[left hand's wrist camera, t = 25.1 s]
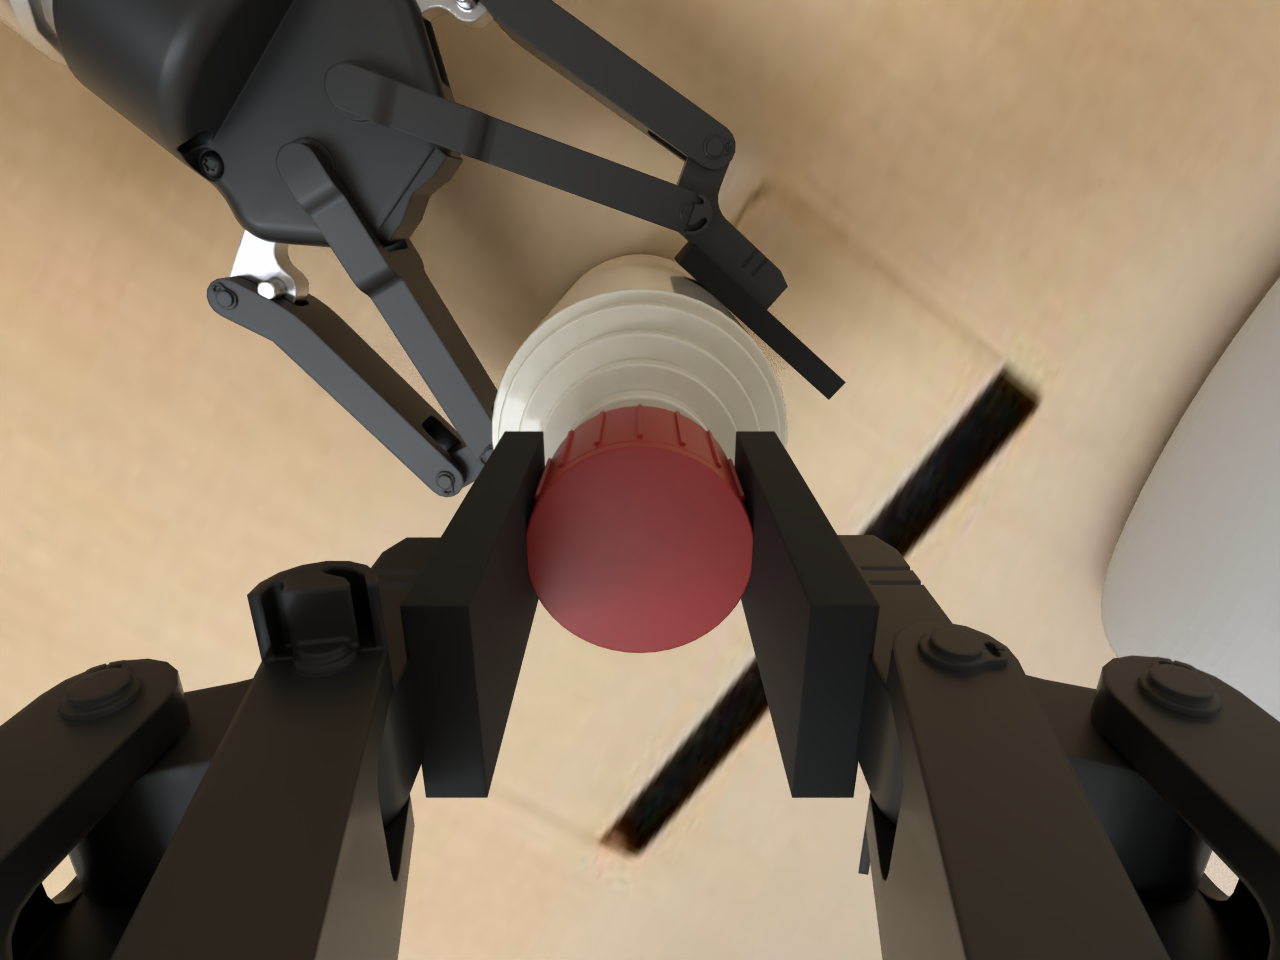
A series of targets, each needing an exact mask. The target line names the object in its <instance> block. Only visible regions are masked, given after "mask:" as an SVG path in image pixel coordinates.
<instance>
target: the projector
mask: <svg viewBox="0 0 1280 960" xmlns="http://www.w3.org/2000/svg"><path fill="white" fill-rule="evenodd" d="M1101 617H1102V623H1103V628H1104V631H1105V634H1106V637H1107V640H1108V642H1109V644H1110V646H1111V648H1112V649H1113V651H1114V653H1115V654H1116V656H1117V657H1118V658H1120V657H1126V656H1131V655H1134V656H1147V657H1162V658H1167V659H1171V661H1174V660H1176V661H1180V662H1183V663H1187V664H1189V665H1192V666H1193V667H1195V668H1196V669H1198V670H1201V671H1203V672H1206V673H1208V674H1211V675H1213V676H1215V677H1217V678H1219V679H1220V680H1222V681H1223V682H1225V683H1227V684H1228V685H1230V686H1232V687H1233V688H1235V689H1237V690H1238V691H1240V692H1241V693H1242V694H1244V695H1245V696H1246V697H1248V698H1249V699H1250V700H1252V701H1253V702H1254V703H1256V704H1257V705H1258V706H1260V707H1261V708H1262V709H1264V710H1265V711H1266V712H1267V713H1269V714H1270V715H1271V716H1273V717H1274V718H1275V719H1277V720H1278V721H1279V722H1280V277H1279V278H1278V280H1277V281H1276V282H1275V283H1274V285H1273V286H1272V287H1271V289H1270V290H1269V291H1268V292H1267V294H1266V295H1265V296H1264V298H1263V299H1262V300H1261V302H1260V303H1259V305H1258V306H1257V307H1256V309H1255V310H1254V311H1253V313H1252V314H1251V315H1250V317H1249V318H1248V319H1247V321H1246V322H1245V323H1244V325H1243V326H1242V327H1241V329H1240V330H1239V331H1238V333H1237V334H1236V336H1235V337H1234V339H1233V340H1232V341H1231V343H1230V344H1229V346H1228V347H1227V349H1226V350H1225V352H1224V353H1223V355H1222V356H1221V358H1220V359H1219V360H1218V362H1217V363H1216V365H1215V366H1214V368H1213V369H1212V371H1211V372H1210V374H1209V375H1208V377H1207V378H1206V380H1205V381H1204V383H1203V385H1202V386H1201V388H1200V389H1199V391H1198V393H1197V394H1196V396H1195V397H1194V399H1193V401H1192V402H1191V404H1190V405H1189V407H1188V409H1187V410H1186V412H1185V413H1184V415H1183V417H1182V418H1181V420H1180V422H1179V423H1178V425H1177V427H1176V429H1175V430H1174V432H1173V434H1172V436H1171V437H1170V439H1169V441H1168V442H1167V444H1166V446H1165V448H1164V449H1163V451H1162V453H1161V455H1160V456H1159V458H1158V460H1157V462H1156V464H1155V466H1154V468H1153V470H1152V471H1151V473H1150V475H1149V477H1148V479H1147V481H1146V483H1145V485H1144V486H1143V488H1142V490H1141V492H1140V494H1139V496H1138V499H1137V501H1136V503H1135V505H1134V507H1133V509H1132V511H1131V513H1130V515H1129V517H1128V519H1127V521H1126V523H1125V526H1124V528H1123V530H1122V533H1121V535H1120V537H1119V540H1118V542H1117V544H1116V547H1115V549H1114V552H1113V555H1112V558H1111V561H1110V564H1109V566H1108V569H1107V573H1106V577H1105V582H1104V586H1103V591H1102V600H1101Z"/></svg>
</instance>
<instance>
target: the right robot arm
mask: <svg viewBox="0 0 1280 960" xmlns="http://www.w3.org/2000/svg"><path fill="white" fill-rule="evenodd" d="M442 15H449V16H452V17H454V18H456V19H457V20H459V21H460V22H461V23H462V24H463V25H465V26H466V27H468V28H471V29H481V28H484V27H485V26H487V25H488V24H489V23H490V22H491V21H492V20H493V19H494V20H495V21H496V23H497V24H498V25H499V26H500V27H501V28H502V29H503V30H504V31H505V32H506V33H507V34H508V35H509V36H510V37H511V38H512V39H513V40H514V41H515V42H517V43H518V44H519V45H520V46H522V47H523V48H524V49H526V50H527V51H528V52H530V53H531V54H533V55H534V56H536V57H537V58H538V59H540V60H541V61H543V62H544V63H545V64H547V65H548V66H550V67H551V68H553V69H554V70H555V71H557V72H558V73H560V74H561V75H562V76H564V77H565V78H567V79H568V80H569V81H571V82H572V83H574V84H575V85H577V86H578V87H579V88H581V89H582V90H584V91H585V92H586V93H588V94H589V95H591V96H592V97H594V98H595V99H596V100H598V101H599V102H601V103H602V104H603V105H605V106H606V107H608V108H609V109H611V110H612V111H613V112H615V113H616V114H618V115H619V116H620V117H622V118H623V119H625V120H626V121H628V122H629V123H630V124H632V125H633V126H635V127H636V128H637V129H639V130H640V131H642V132H643V133H645V134H646V135H647V136H649V137H650V138H652V139H653V140H654V141H656V142H657V143H659V144H660V145H662V146H663V147H664V148H666V149H667V150H669V151H670V152H671V153H673V154H674V155H676V156H677V157H678V158H680V159H681V160H683V161H684V162H685V163H684V166H683V169H682V171H681V174H680V177H679V180H678V183H677V185H675V184H672V183H669V182H667V181H664V180H661V179H659V178H656V177H653V176H650V175H648V174H645V173H642V172H640V171H637V170H634V169H631V168H629V167H626V166H623V165H621V164H618V163H615V162H612V161H610V160H607V159H604V158H602V157H599V156H596V155H594V154H591V153H588V152H585V151H583V150H580V149H577V148H575V147H572V146H569V145H566V144H564V143H561V142H558V141H556V140H553V139H550V138H547V137H545V136H542V135H539V134H537V133H534V132H531V131H528V130H526V129H523V128H520V127H518V126H515V125H512V124H510V123H507V122H504V121H501V120H499V119H496V118H494V117H491V116H489V115H486V114H484V113H482V112H479V111H476V110H474V109H471V108H469V107H466V106H463V105H460V104H458V103H455V101H454V98H453V95H452V91H451V88H450V84H449V81H448V78H447V74H446V71H445V68H444V64H443V61H442V58H441V54H440V51H439V48H438V44H437V41H436V38H435V34H434V31H433V28H432V24H431V21H432V20H433V19H435V18H436V17H438V16H442ZM0 20H1V21H2V22H3V23H5V24H6V25H7V26H8V27H10V28H11V29H12V30H13V31H15V32H16V33H17V34H18V35H20V36H21V37H22V38H23V39H25V40H26V41H27V42H29V43H30V44H31V45H32V46H34V47H35V48H36V49H37V50H39V51H40V52H41V53H43V54H44V55H45V56H47V57H48V58H49V59H51V60H52V61H54V62H56V63H59V64H61V65H64V66H66V67H69V68H70V70H71V71H72V73H73V74H74V76H75V77H76V78H77V79H78V80H79V81H80V82H81V83H82V84H83V85H84V86H85V87H87V88H88V89H89V90H90V91H92V92H93V93H94V94H96V95H97V96H98V97H99V98H101V99H102V100H103V101H105V102H106V103H107V104H108V105H110V106H111V107H112V108H114V109H115V110H116V111H117V112H119V113H120V114H121V115H123V116H124V117H125V118H126V119H128V120H129V121H130V122H131V123H133V124H134V125H135V126H137V127H138V128H139V129H140V130H142V131H143V132H144V133H146V134H147V135H148V136H149V137H151V138H152V139H153V140H155V141H156V142H157V143H158V144H160V145H161V146H162V147H164V148H165V149H166V150H167V151H169V152H170V153H171V154H173V155H174V156H175V157H176V158H178V159H179V160H180V161H182V162H183V163H184V164H186V165H187V166H188V167H190V168H191V169H192V170H194V171H195V172H197V173H198V174H200V175H201V176H202V177H204V178H205V179H207V180H208V181H209V182H210V183H212V184H213V185H214V186H215V187H216V188H217V189H218V191H219V192H220V193H221V194H222V196H223V197H224V198H225V200H226V201H227V203H228V205H229V206H230V208H231V210H232V212H233V214H234V216H235V218H236V219H237V221H238V222H239V223H240V225H241V226H242V227H243V228H244V229H245V230H244V233H243V236H242V239H241V242H240V245H239V248H238V251H237V254H236V258H235V261H234V264H233V267H232V270H231V273H230V275H229V277H226V278H220V279H216V280H215V281H213V282H211V284H210V285H209V287H208V289H207V299H208V302H209V304H210V306H211V307H212V309H213V310H214V311H215V312H217V313H218V314H219V315H221V316H223V317H225V318H227V319H229V320H231V321H233V322H235V323H237V324H239V325H241V326H243V327H245V328H247V329H249V330H251V331H253V332H255V333H257V334H259V335H261V336H263V337H265V338H267V339H269V340H271V341H273V342H274V343H275V344H276V345H277V346H278V347H279V348H281V349H282V350H283V351H284V352H285V353H286V354H287V355H288V356H289V357H290V358H291V359H292V360H293V361H294V362H295V363H297V364H298V365H299V366H300V367H301V368H302V369H303V370H304V371H305V372H306V373H307V374H308V375H309V376H310V377H312V378H313V379H314V380H315V381H316V382H317V383H318V384H319V385H320V386H321V387H322V388H323V389H324V390H325V391H327V392H328V393H329V394H330V395H331V396H332V397H333V398H334V399H335V400H336V401H337V402H338V403H339V404H340V405H341V406H343V407H344V408H345V409H346V410H347V411H348V412H349V413H350V414H351V415H352V416H353V417H354V418H355V419H356V420H358V421H359V422H360V423H361V424H362V425H363V426H364V427H365V428H366V429H367V430H368V431H369V432H370V433H371V434H372V435H374V436H375V437H376V438H377V439H378V440H379V441H380V442H381V443H382V444H383V445H384V446H385V447H386V448H387V449H389V450H390V451H391V452H392V453H393V454H394V455H395V456H396V457H397V458H398V459H399V460H400V461H401V462H402V463H403V464H405V465H406V466H407V467H408V468H409V469H410V470H411V471H412V472H413V473H414V474H415V475H416V476H417V477H418V478H420V479H421V480H422V481H423V482H424V483H425V484H426V485H427V486H428V487H429V488H430V489H431V490H432V491H433V492H435V493H436V494H438V495H440V496H444V497H451V496H454V495H456V494H458V493H459V492H460V490H461V489H462V488H463V487H465V486H467V485H468V484H470V483H472V482H474V481H475V480H476V478H477V477H478V475H479V473H480V472H481V470H482V468H483V467H484V465H485V463H486V462H487V460H488V458H489V457H490V455H491V453H492V452H493V444H492V416H493V409H494V402H495V398H496V395H497V391H498V390H497V389H496V387H495V386H494V384H493V382H492V381H491V379H490V377H489V376H488V374H487V373H486V371H485V369H484V368H483V366H482V364H481V363H480V361H479V360H478V358H477V356H476V355H475V353H474V351H473V350H472V348H471V347H470V345H469V343H468V342H467V340H466V338H465V337H464V335H463V333H462V332H461V330H460V329H459V327H458V325H457V324H456V322H455V320H454V319H453V317H452V316H451V314H450V312H449V311H448V309H447V307H446V306H445V304H444V303H443V301H442V299H441V298H440V296H439V294H438V293H437V291H436V290H435V288H434V286H433V285H432V283H431V281H430V280H429V278H428V277H427V275H426V273H425V270H424V265H423V262H422V259H421V258H420V256H419V254H418V252H417V251H416V249H415V247H414V246H413V244H412V242H411V241H410V239H409V238H410V236H411V235H412V233H413V232H414V230H415V229H416V228H417V226H418V225H419V223H420V222H421V220H422V218H423V215H424V212H425V209H426V206H427V204H428V201H429V198H430V196H431V195H432V194H433V193H434V192H435V191H437V190H438V189H439V188H440V187H442V186H443V185H444V184H445V183H446V182H448V181H449V180H450V179H451V177H452V176H453V174H454V173H455V172H456V170H457V169H458V167H459V166H460V164H461V163H462V162H463V160H462V159H461V158H460V154H464V155H466V156H469V157H472V158H475V159H478V160H481V161H484V162H486V163H489V164H492V165H495V166H497V167H500V168H503V169H506V170H509V171H511V172H514V173H517V174H520V175H522V176H525V177H528V178H531V179H533V180H536V181H539V182H542V183H545V184H547V185H550V186H553V187H556V188H558V189H561V190H564V191H567V192H569V193H572V194H575V195H578V196H581V197H583V198H586V199H589V200H592V201H594V202H597V203H600V204H603V205H605V206H608V207H611V208H614V209H617V210H619V211H622V212H625V213H628V214H630V215H633V216H636V217H639V218H641V219H644V220H647V221H650V222H652V223H655V224H658V225H661V226H664V227H666V228H669V229H672V230H675V231H677V232H679V233H680V234H681V235H682V236H683V237H684V238H685V239H687V240H688V242H687V244H686V245H685V246H684V247H683V248H682V250H681V251H680V252H679V253H678V254H677V256H676V257H675V260H676V261H677V263H678V264H679V265H680V266H681V267H682V268H683V269H684V270H686V271H687V272H688V273H689V274H690V275H691V276H692V277H693V278H694V279H696V280H697V281H698V282H699V283H700V284H701V285H702V286H703V287H704V288H705V289H707V290H708V291H709V292H710V293H711V294H712V295H713V296H715V297H716V298H717V299H718V300H719V301H720V302H721V303H722V304H723V305H724V306H725V307H727V308H728V309H729V310H730V311H731V312H732V313H733V314H734V315H735V316H737V317H738V318H739V319H740V320H741V321H742V322H743V323H744V324H745V325H746V326H748V327H749V328H750V329H751V330H752V331H753V332H754V333H755V334H756V335H758V336H759V337H760V338H761V339H762V340H763V341H764V342H765V343H766V344H768V345H769V346H770V347H771V348H772V349H773V350H774V351H775V352H776V353H778V354H779V355H780V356H781V357H782V358H783V359H784V360H785V361H786V362H787V363H789V364H790V365H791V366H792V367H793V368H794V369H795V370H796V371H797V372H799V373H800V374H801V375H802V376H803V377H804V378H805V379H806V380H807V381H809V382H810V383H811V384H812V385H813V386H814V387H815V388H816V389H817V390H819V391H820V392H821V393H822V394H823V395H824V396H825V397H826V398H827V399H830V398H831V397H832V396H833V395H834V394H835V393H836V392H837V391H838V390H839V389H840V388H841V387H842V386H843V385H844V384H845V383H846V382H845V381H844V380H842V379H841V378H840V377H839V376H838V375H837V374H836V373H835V372H834V371H833V370H832V369H830V368H829V367H828V366H827V365H826V364H825V363H824V362H823V361H822V360H821V359H820V358H818V357H817V356H816V355H815V354H814V353H813V352H812V351H811V350H810V349H809V348H808V347H806V346H805V345H804V344H803V343H802V342H801V341H800V340H799V339H798V338H797V337H796V336H795V335H793V334H792V333H791V332H790V331H789V330H788V329H787V328H786V327H785V326H784V325H783V324H781V323H780V322H779V321H778V320H777V319H776V318H775V317H774V316H773V315H772V314H771V313H769V312H768V311H767V309H768V308H769V307H770V306H771V304H772V303H773V302H774V301H775V300H776V299H777V298H778V297H779V296H780V294H781V293H782V292H783V291H784V290H785V289H786V288H787V287H788V286H787V284H786V282H785V279H784V277H783V275H782V273H781V271H780V270H779V269H778V268H777V267H776V266H775V265H774V264H773V263H772V262H771V261H770V260H769V259H767V258H766V257H765V256H764V255H763V254H762V253H761V252H760V251H759V250H758V249H757V248H756V247H755V246H754V245H753V244H752V243H751V242H750V241H748V240H747V239H746V238H745V237H744V236H743V235H742V234H741V233H740V232H739V231H738V230H737V229H736V228H735V227H734V226H733V225H731V224H730V223H729V222H728V221H727V220H726V219H725V217H724V216H723V215H722V213H721V211H720V209H719V205H718V193H719V189H720V186H721V184H722V181H723V178H724V176H725V173H726V171H727V168H728V165H729V163H730V161H731V160H732V158H733V155H734V153H735V140H734V137H733V134H732V133H731V132H730V131H729V130H728V129H727V128H726V127H725V126H724V125H722V124H721V123H719V122H718V121H717V120H715V119H714V118H713V117H711V116H710V115H708V114H707V113H706V112H704V111H703V110H702V109H700V108H699V107H697V106H696V105H695V104H693V103H692V102H691V101H689V100H688V99H686V98H685V97H684V96H682V95H681V94H680V93H678V92H677V91H675V90H674V89H673V88H671V87H670V86H669V85H667V84H666V83H664V82H663V81H662V80H660V79H659V78H658V77H656V76H655V75H653V74H652V73H651V72H649V71H648V70H647V69H645V68H644V67H642V66H641V65H640V64H638V63H637V62H636V61H634V60H633V59H631V58H630V57H629V56H627V55H626V54H625V53H623V52H622V51H620V50H619V49H618V48H616V47H615V46H614V45H612V44H611V43H609V42H608V41H607V40H605V39H604V38H603V37H601V36H600V35H598V34H597V33H596V32H594V31H593V30H592V29H590V28H589V27H587V26H586V25H585V24H583V23H582V22H581V21H579V20H578V19H576V18H575V17H574V16H572V15H571V14H570V13H568V12H567V11H565V10H564V9H563V8H561V7H560V6H559V5H557V4H556V3H554V2H553V1H552V0H0ZM288 244H295V245H308V246H320V247H331V249H332V250H333V252H334V253H335V255H336V256H337V258H338V259H339V261H340V262H341V264H342V265H343V267H344V268H345V270H346V272H347V273H348V275H349V276H350V278H351V279H352V281H353V282H354V283H355V285H356V286H357V287H358V288H359V289H360V290H361V291H362V292H364V293H365V294H367V295H368V296H369V297H370V298H371V299H372V301H373V302H374V304H375V305H376V307H377V308H378V310H379V311H380V313H381V314H382V316H383V317H384V319H385V321H386V322H387V324H388V325H389V327H390V328H391V330H392V331H393V333H394V334H395V336H396V338H397V339H398V341H399V342H400V344H401V345H402V347H403V348H404V350H405V351H406V353H407V354H408V356H409V358H410V359H411V361H412V362H413V364H414V365H415V367H416V368H417V370H418V371H419V373H420V375H421V376H422V378H423V379H424V381H425V382H426V384H427V385H428V387H429V388H430V390H431V392H432V393H433V395H434V396H435V398H436V399H437V401H438V402H439V404H440V405H441V407H442V408H443V410H444V412H445V413H446V415H447V416H448V418H449V419H450V421H451V422H452V424H453V425H454V427H455V429H456V430H457V431H456V430H455V429H454V428H453V427H452V426H451V425H450V424H449V423H448V422H447V421H446V420H445V419H444V418H443V417H442V416H441V415H440V414H439V413H438V412H437V411H436V410H435V409H433V408H432V407H431V406H430V405H429V404H428V403H427V402H426V401H425V400H424V399H423V398H422V397H421V396H420V395H419V394H418V393H417V392H416V391H415V390H414V389H413V388H412V387H411V386H410V385H409V384H408V383H407V382H406V381H405V380H404V379H403V378H402V377H401V376H400V375H399V374H398V373H397V372H396V371H395V370H394V369H393V368H392V367H391V366H389V365H388V364H387V363H386V362H385V361H384V360H383V359H382V358H381V357H380V356H379V355H378V354H377V353H376V352H375V351H374V350H373V349H372V348H371V347H370V346H369V345H368V344H367V343H366V342H365V341H364V340H363V339H362V338H361V337H360V336H359V335H358V334H357V333H356V332H355V331H354V330H353V329H352V328H351V327H350V326H349V325H348V324H347V323H345V322H344V321H343V320H342V319H341V318H340V317H339V316H338V315H337V314H336V313H335V312H334V311H333V310H331V309H330V308H329V307H328V306H327V305H325V304H324V303H322V302H321V301H320V300H318V299H317V298H315V297H313V296H312V295H310V294H308V291H309V283H308V280H307V278H306V277H305V276H304V274H303V273H302V272H300V271H299V270H298V269H297V268H296V267H295V266H294V265H293V264H292V262H291V261H290V259H289V256H288V250H287V249H288Z"/></svg>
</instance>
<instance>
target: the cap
mask: <svg viewBox="0 0 1280 960" xmlns="http://www.w3.org/2000/svg"><path fill="white" fill-rule="evenodd" d="M534 499H536V502H535V505H534V508H533V511H532V513H531V516H530V520H529V523H528V526H527V530H526V540H527V557H528V572H529V579H530V582H531V584H532V587H533V589H534V591H535V593H536V595H537V597H538V598H539V600H540V601H541V603H542V605H543V606H544V607H545V609H546V610H547V611H548V612H549V613H550V615H551V616H552V617H553V618H554V619H555V620H556V621H557V622H559V623H560V624H561V625H562V626H563V627H564V628H566V629H567V630H569V631H570V632H571V633H573V634H574V635H576V636H578V637H580V638H582V639H583V640H585V641H587V642H590V643H592V644H595V645H597V646H600V647H604V648H607V649H611V650H616V651H622V652H632V653H647V652H658V651H663V650H669V649H672V648H676V647H679V646H682V645H685V644H687V643H689V642H692V641H694V640H696V639H698V638H700V637H701V636H703V635H705V634H707V633H708V632H710V631H711V630H712V629H714V628H715V627H716V626H718V625H719V624H720V623H721V622H722V621H723V620H724V619H725V618H726V617H727V616H728V615H729V614H730V613H731V611H732V610H733V609H734V608H735V606H736V605H737V604H738V602H739V600H740V599H741V597H742V595H743V594H744V592H745V590H746V587H747V585H748V583H749V580H750V576H751V565H752V549H753V529H752V525H751V522H750V519H749V516H748V513H747V510H746V507H745V504H744V502H743V500H744V499H746V497H745V495H744V492H743V489H742V486H741V484H740V481H739V478H738V475H737V473H736V470H735V467H734V464H733V462H732V459H731V458H730V459H728V458H727V456H726V454H725V452H724V451H723V449H722V448H721V446H720V445H719V444H718V442H717V441H716V440H715V439H714V438H713V435H712V432H711V431H710V430H708V431H706V430H705V429H704V428H703V427H701V426H700V425H699V424H697V423H696V422H694V421H692V420H691V419H689V418H687V417H685V416H683V415H681V414H680V412H678V411H676V412H673V411H670V410H667V409H663V408H657V407H651V406H642V404H638V406H630V407H622V408H617V409H612V410H609V411H607V412H604V411H601V412H600V414H598V415H596V416H594V417H592V418H590V419H588V420H587V421H585V422H584V423H582V424H581V425H579V426H578V427H577V428H576V429H574V430H572V429H571V430H570V431H569V432H568V435H567V437H566V438H565V439H564V441H563V442H562V443H561V444H560V445H559V447H558V449H557V450H556V452H555V453H554V455H553V457H552V459H551V458H548V460H547V463H546V466H545V468H544V471H543V474H542V477H541V479H540V482H539V485H538V487H537V490H536V493H535V496H534Z"/></svg>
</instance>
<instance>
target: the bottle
mask: <svg viewBox="0 0 1280 960" xmlns="http://www.w3.org/2000/svg"><path fill="white" fill-rule="evenodd" d="M638 404H642V406H651V407H657V408H663V409H667V410H670V411H673V412H676V411H678V412H680V414H681V415H683V416H685V417H687V418H689V419H691V420H692V421H694V422H696V423H697V424H699V425H700V426H701V427H703V428H704V429H705V430H706V431H708V430H710V431H711V432H712V435H713V438H714V439H715V440H716V441H717V442H718V444H719V445H720V446H721V448H722V449H723V451H724V452H725V454H726V456H727V458H728V459H730V458H731V459H732V462H733V464H735V444H736V431H775V433H776V434H777V436H778V438H779V439H780V441H781V443H782V444H783V446H784V448H785V449H786V447H787V428H788V423H787V414H786V406H785V401H784V398H783V394H782V390H781V386H780V384H779V382H778V379H777V377H776V374H775V372H774V370H773V368H772V366H771V364H770V363H769V361H768V359H767V358H766V356H765V354H764V353H763V351H762V350H761V349H760V347H759V346H758V345H757V344H756V342H755V341H754V340H753V339H752V337H751V336H750V335H749V334H748V333H747V332H746V330H745V329H744V328H743V327H742V326H741V325H740V323H739V322H738V321H737V320H736V319H735V318H734V316H733V315H732V314H731V313H730V312H729V311H728V309H727V308H726V307H725V306H724V305H723V304H722V303H721V302H720V301H719V300H718V299H717V298H716V297H715V296H713V295H712V294H711V293H710V292H709V291H708V290H707V289H705V288H704V287H703V286H702V285H701V284H700V283H699V282H698V281H697V280H696V279H694V278H693V277H692V276H691V275H690V274H689V273H688V272H687V271H686V270H684V269H683V268H682V267H681V266H680V265H679V264H678V263H677V262H675V261H672V260H669V259H667V258H664V257H659V256H654V255H645V254H635V255H625V256H620V257H616V258H613V259H610V260H607V261H605V262H603V263H601V264H599V265H597V266H595V267H593V268H592V269H591V270H589V271H588V272H586V273H585V274H584V275H583V276H582V277H580V278H579V279H578V280H577V281H576V282H575V283H574V285H573V286H572V287H571V288H570V289H569V290H568V292H567V293H566V294H565V295H564V296H563V297H562V298H561V300H560V301H559V302H558V303H557V304H556V305H555V307H554V308H553V309H552V310H551V311H550V312H549V313H548V315H547V316H546V317H545V318H544V319H543V320H542V322H541V323H540V324H539V325H538V326H537V327H536V328H535V330H534V331H533V332H532V333H531V334H530V335H529V337H528V338H527V339H526V340H525V341H524V343H523V344H522V345H521V346H520V347H519V349H518V350H517V352H516V353H515V355H514V356H513V358H512V360H511V361H510V363H509V364H508V366H507V368H506V371H505V373H504V375H503V377H502V380H501V382H500V384H499V388H498V391H497V395H496V398H495V402H494V409H493V416H492V444H493V450H494V448H495V447H496V445H497V444H498V442H499V440H500V439H501V437H502V435H503V434H504V432H505V431H543V433H544V453H545V466H546V463H547V460H548V458H551V459H552V457H553V455H554V453H555V452H556V450H557V449H558V447H559V445H560V444H561V443H562V442H563V441H564V439H565V438H566V437H567V435H568V432H569V431H570V430H571V429H572V430H574V429H576V428H577V427H578V426H579V425H581V424H582V423H584V422H585V421H587V420H588V419H590V418H592V417H594V416H596V415H598V414H600V412H601V411H604V412H607V411H609V410H612V409H617V408H622V407H630V406H638Z"/></svg>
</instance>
